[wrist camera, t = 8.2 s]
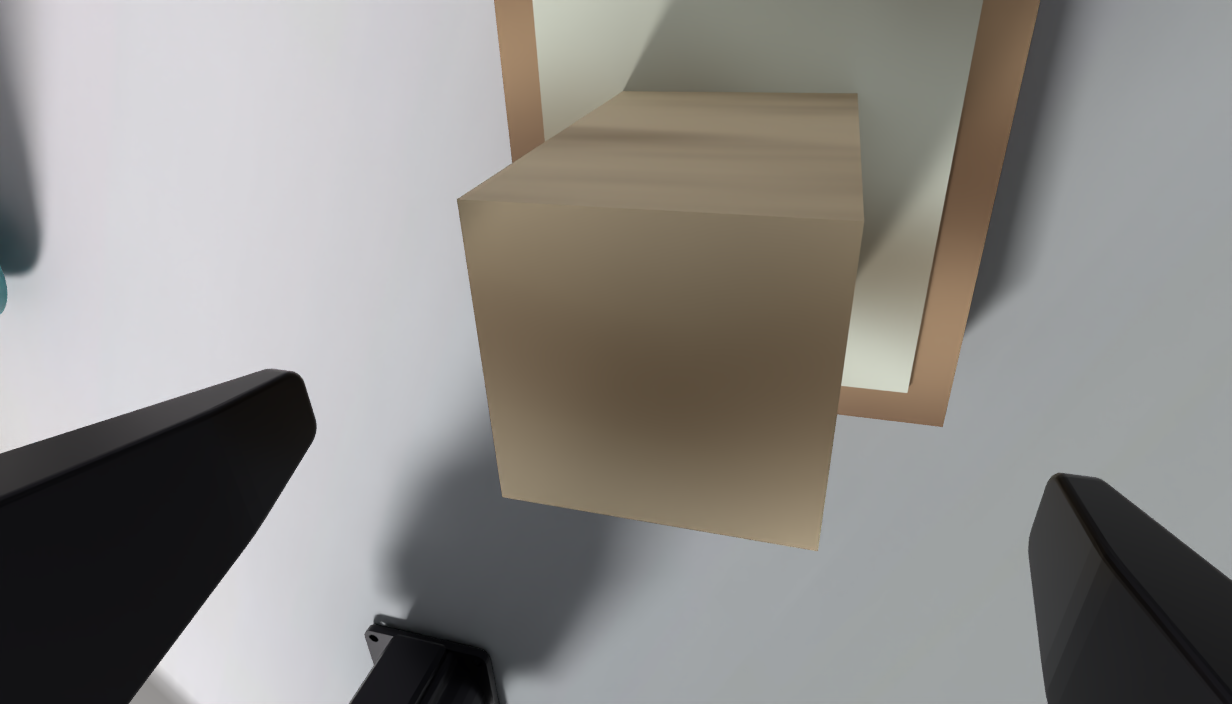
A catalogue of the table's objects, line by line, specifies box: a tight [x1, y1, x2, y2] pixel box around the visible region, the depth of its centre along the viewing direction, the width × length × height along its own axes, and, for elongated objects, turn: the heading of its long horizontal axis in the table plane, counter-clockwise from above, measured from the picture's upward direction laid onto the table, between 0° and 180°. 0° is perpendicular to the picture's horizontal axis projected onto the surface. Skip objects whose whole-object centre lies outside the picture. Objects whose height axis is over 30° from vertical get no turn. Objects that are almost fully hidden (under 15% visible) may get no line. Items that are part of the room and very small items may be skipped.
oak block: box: [457, 91, 864, 551], centre depth 13 cm, size 5×5×8 cm
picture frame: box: [494, 0, 1040, 427], centre depth 18 cm, size 11×11×3 cm
